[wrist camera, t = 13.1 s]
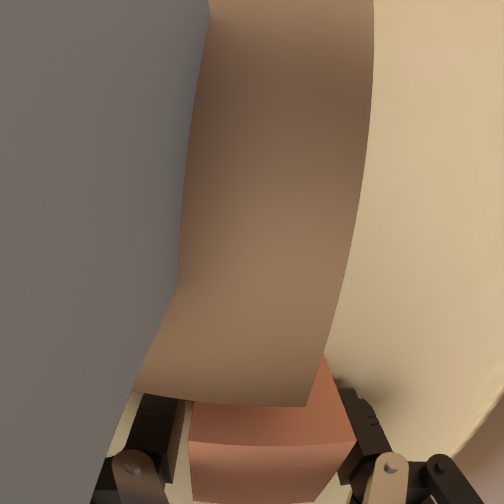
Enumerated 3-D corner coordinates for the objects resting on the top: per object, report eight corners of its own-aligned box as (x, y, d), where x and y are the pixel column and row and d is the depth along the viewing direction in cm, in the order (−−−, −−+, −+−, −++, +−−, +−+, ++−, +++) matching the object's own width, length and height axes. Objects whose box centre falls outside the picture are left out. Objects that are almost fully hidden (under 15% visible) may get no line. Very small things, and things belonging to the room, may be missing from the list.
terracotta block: (298, 423, 12) (313, 501, 8) (202, 418, 12) (193, 500, 7) (322, 351, 11) (356, 440, 6) (204, 343, 10) (188, 440, 6)
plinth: (284, 324, 10) (305, 407, 6) (20, 284, 9) (-38, 329, 5) (326, 12, 7) (368, -53, 3) (39, 24, 6) (-19, -5, 2)
